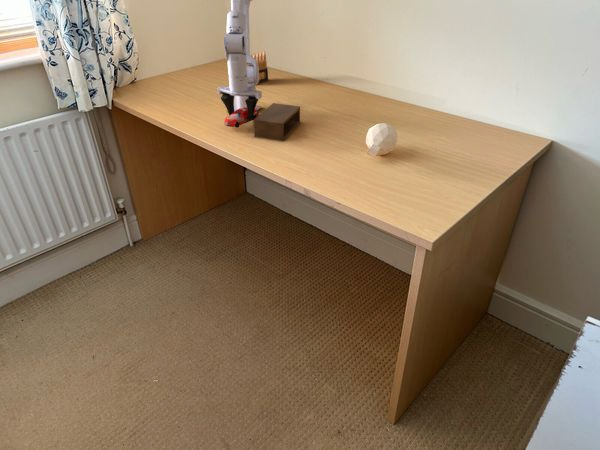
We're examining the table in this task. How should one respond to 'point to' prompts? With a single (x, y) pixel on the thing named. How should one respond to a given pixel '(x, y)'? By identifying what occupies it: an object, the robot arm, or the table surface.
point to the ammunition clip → (262, 66)
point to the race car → (239, 117)
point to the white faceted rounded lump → (381, 139)
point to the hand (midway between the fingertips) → (241, 117)
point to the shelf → (277, 121)
